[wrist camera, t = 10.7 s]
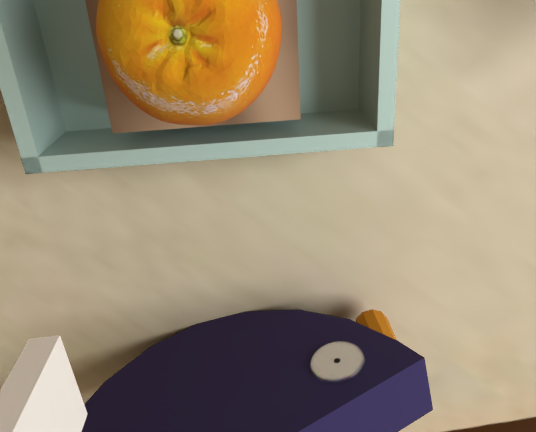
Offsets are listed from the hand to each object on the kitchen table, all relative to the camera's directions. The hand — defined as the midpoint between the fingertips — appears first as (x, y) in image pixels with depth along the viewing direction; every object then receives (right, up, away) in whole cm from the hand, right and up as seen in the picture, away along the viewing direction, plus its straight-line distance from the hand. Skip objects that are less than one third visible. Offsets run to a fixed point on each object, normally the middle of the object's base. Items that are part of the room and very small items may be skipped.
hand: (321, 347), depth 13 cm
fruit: (-5, +14, +14) cm, 20 cm away
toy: (-4, -7, +31) cm, 32 cm away
